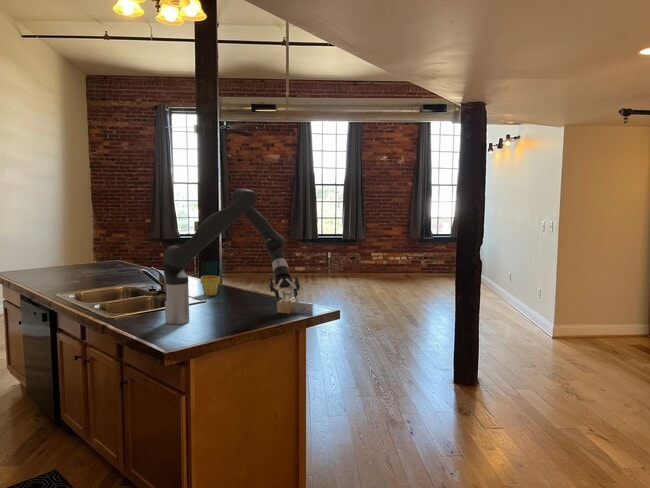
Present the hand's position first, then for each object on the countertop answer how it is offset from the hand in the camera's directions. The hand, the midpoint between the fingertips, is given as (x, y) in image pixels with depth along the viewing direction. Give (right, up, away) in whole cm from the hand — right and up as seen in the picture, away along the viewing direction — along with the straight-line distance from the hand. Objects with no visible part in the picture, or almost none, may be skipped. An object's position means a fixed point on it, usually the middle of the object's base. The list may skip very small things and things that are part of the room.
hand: (287, 297), depth 229 cm
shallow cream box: (+6, -7, +5) cm, 10 cm away
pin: (-1, -7, +3) cm, 7 cm away
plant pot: (-46, -3, +41) cm, 61 cm away
